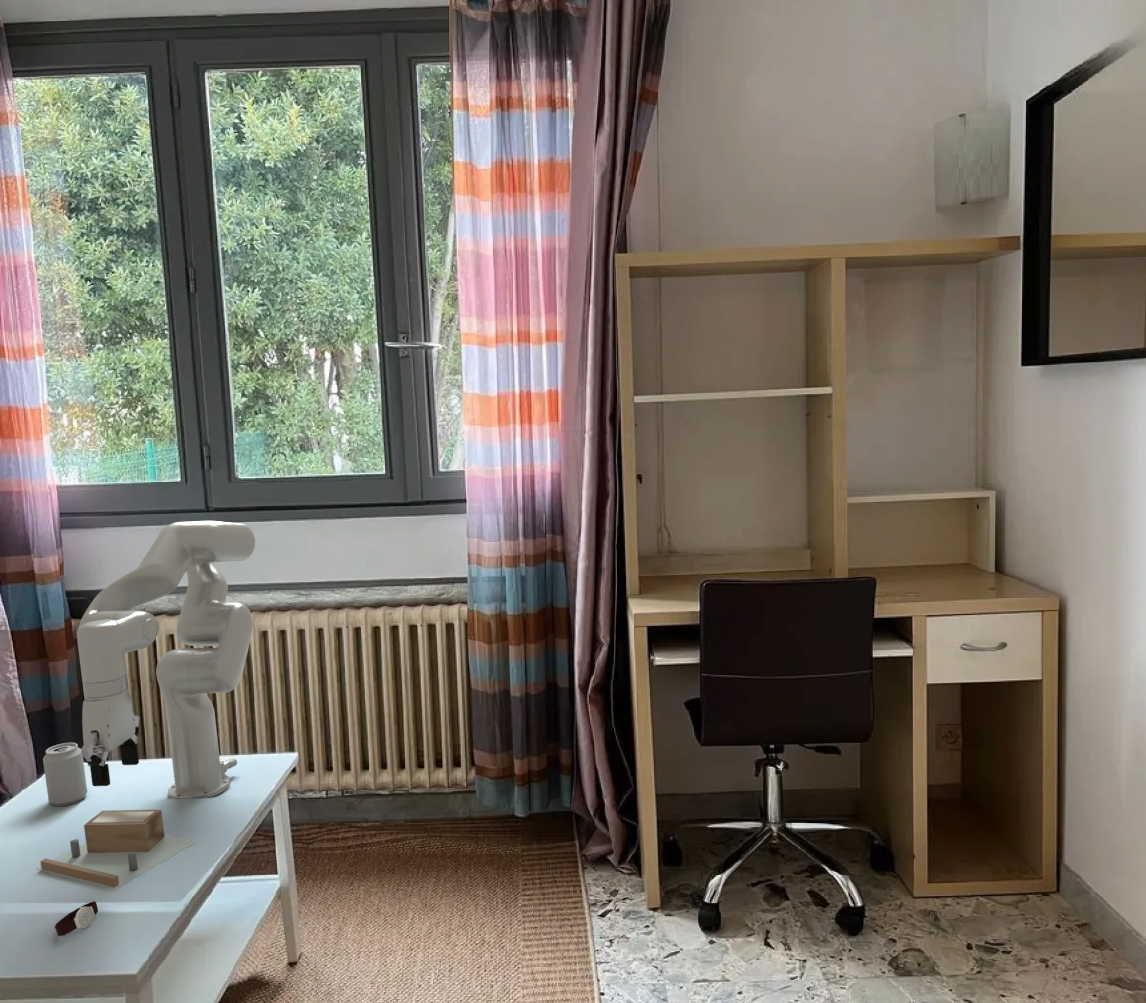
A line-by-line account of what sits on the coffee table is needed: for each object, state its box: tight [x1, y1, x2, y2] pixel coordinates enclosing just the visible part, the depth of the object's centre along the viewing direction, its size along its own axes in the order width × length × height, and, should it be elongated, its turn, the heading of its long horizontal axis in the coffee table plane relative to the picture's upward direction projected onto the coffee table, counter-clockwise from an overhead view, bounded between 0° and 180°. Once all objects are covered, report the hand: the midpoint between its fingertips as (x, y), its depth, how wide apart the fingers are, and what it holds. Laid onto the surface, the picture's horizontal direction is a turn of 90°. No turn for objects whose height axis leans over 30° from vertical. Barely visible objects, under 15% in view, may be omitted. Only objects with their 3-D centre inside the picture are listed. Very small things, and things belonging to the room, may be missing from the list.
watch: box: [54, 901, 99, 937], centre depth 157 cm, size 8×5×4 cm, turn 164°
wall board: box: [36, 834, 198, 890], centre depth 178 cm, size 18×21×4 cm
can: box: [42, 742, 88, 807], centre depth 207 cm, size 8×8×12 cm
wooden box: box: [83, 809, 166, 853], centre depth 182 cm, size 6×12×6 cm, turn 85°
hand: (116, 774), depth 180 cm, fingers open, 9 cm apart
